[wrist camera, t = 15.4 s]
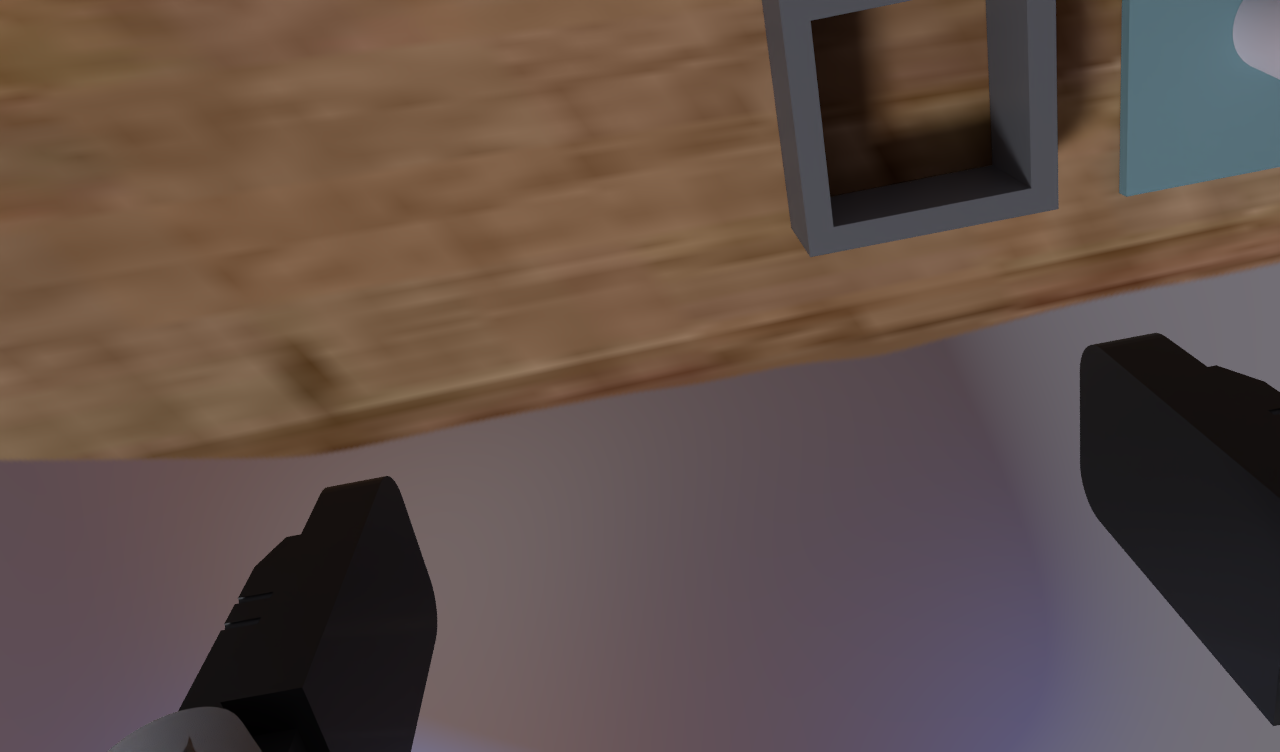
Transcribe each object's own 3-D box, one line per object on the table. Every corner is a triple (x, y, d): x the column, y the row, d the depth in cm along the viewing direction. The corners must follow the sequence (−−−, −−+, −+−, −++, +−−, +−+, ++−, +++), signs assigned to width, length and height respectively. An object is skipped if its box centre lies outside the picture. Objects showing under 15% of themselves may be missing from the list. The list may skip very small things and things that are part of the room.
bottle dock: (760, -11, 38) (778, -4, 34) (1010, -62, 37) (1055, -61, 34) (791, 228, 42) (810, 257, 38) (1017, 183, 41) (1058, 209, 37)
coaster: (1123, -122, 37) (1131, -123, 36) (1454, -191, 36) (1467, -192, 35) (1119, 193, 41) (1126, 196, 41) (1409, 136, 41) (1420, 139, 40)
